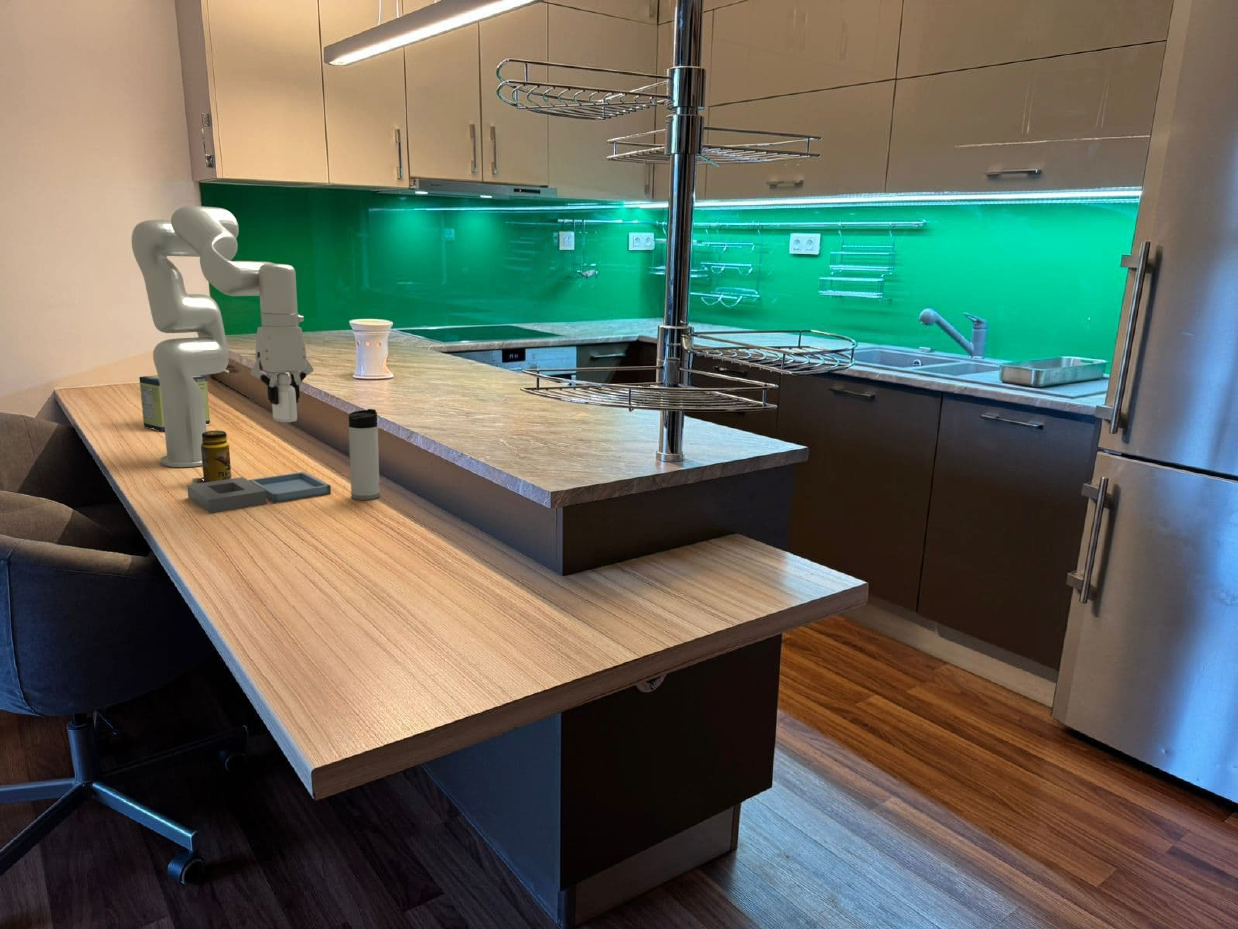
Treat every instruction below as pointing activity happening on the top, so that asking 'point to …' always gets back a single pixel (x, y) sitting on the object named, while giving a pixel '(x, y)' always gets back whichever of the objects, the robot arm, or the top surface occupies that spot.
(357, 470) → the travel mug
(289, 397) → the eye dropper bottle
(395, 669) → the top surface
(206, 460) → the condiment
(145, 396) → the protein box
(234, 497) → the bottle holder
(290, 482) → the parts tray
